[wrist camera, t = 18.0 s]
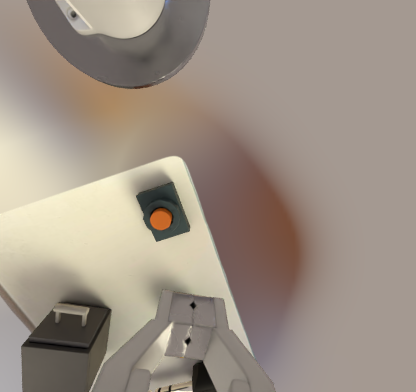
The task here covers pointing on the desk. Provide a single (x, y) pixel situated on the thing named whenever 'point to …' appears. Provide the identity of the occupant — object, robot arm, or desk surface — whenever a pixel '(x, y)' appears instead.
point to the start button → (161, 219)
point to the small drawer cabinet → (63, 364)
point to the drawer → (69, 326)
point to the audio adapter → (192, 382)
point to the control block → (168, 200)
